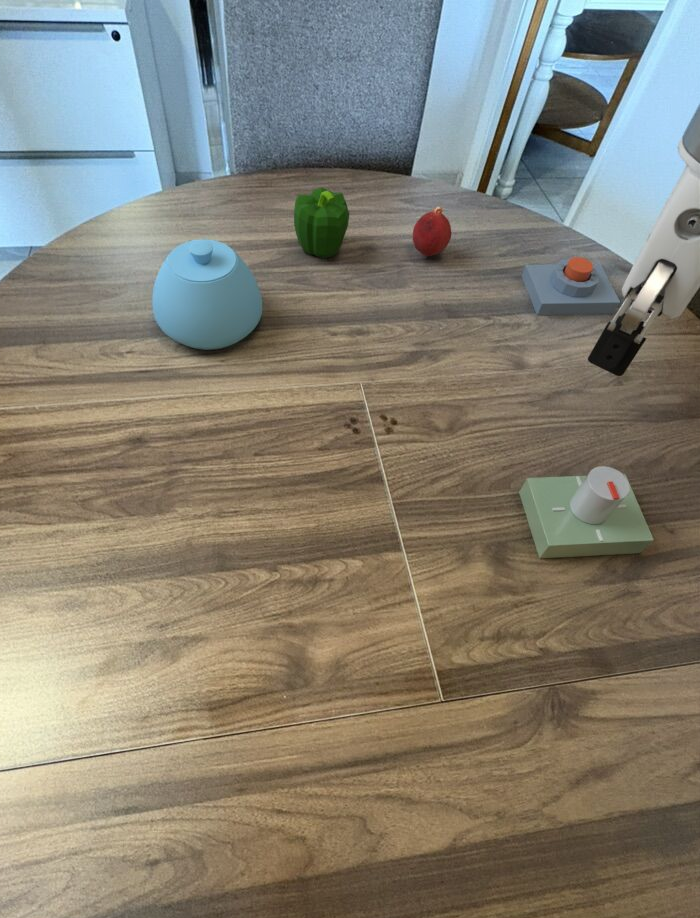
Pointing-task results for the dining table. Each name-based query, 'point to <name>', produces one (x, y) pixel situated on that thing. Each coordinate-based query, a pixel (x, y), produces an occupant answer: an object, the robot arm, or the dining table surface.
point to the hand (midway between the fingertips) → (625, 336)
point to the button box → (568, 291)
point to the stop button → (578, 269)
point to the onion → (432, 233)
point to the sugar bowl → (206, 296)
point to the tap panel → (579, 522)
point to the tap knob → (599, 495)
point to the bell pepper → (321, 222)
